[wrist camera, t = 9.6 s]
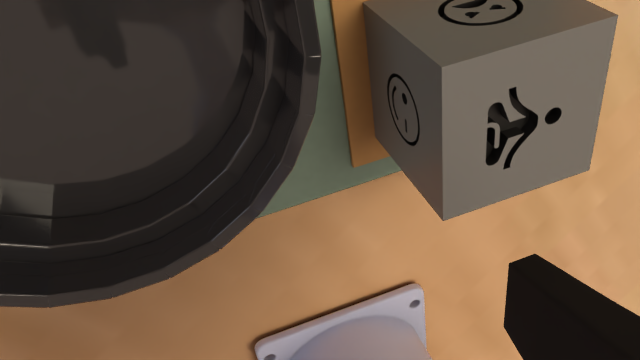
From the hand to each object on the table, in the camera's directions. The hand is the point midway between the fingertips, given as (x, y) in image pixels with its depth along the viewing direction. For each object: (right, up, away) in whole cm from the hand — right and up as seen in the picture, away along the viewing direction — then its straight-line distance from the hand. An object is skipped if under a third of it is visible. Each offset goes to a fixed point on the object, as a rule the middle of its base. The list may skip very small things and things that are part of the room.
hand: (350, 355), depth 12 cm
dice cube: (+3, +8, +8) cm, 12 cm away
